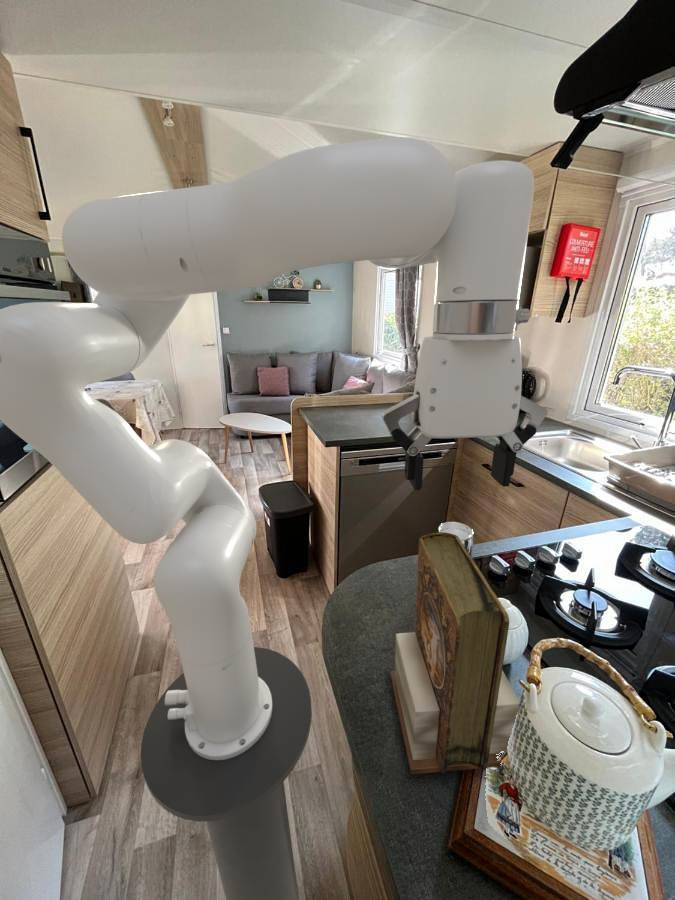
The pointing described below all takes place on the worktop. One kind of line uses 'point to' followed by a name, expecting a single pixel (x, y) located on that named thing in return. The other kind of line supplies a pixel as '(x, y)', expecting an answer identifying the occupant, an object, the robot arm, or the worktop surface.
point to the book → (459, 647)
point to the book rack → (437, 710)
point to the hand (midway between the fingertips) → (457, 483)
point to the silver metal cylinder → (459, 533)
